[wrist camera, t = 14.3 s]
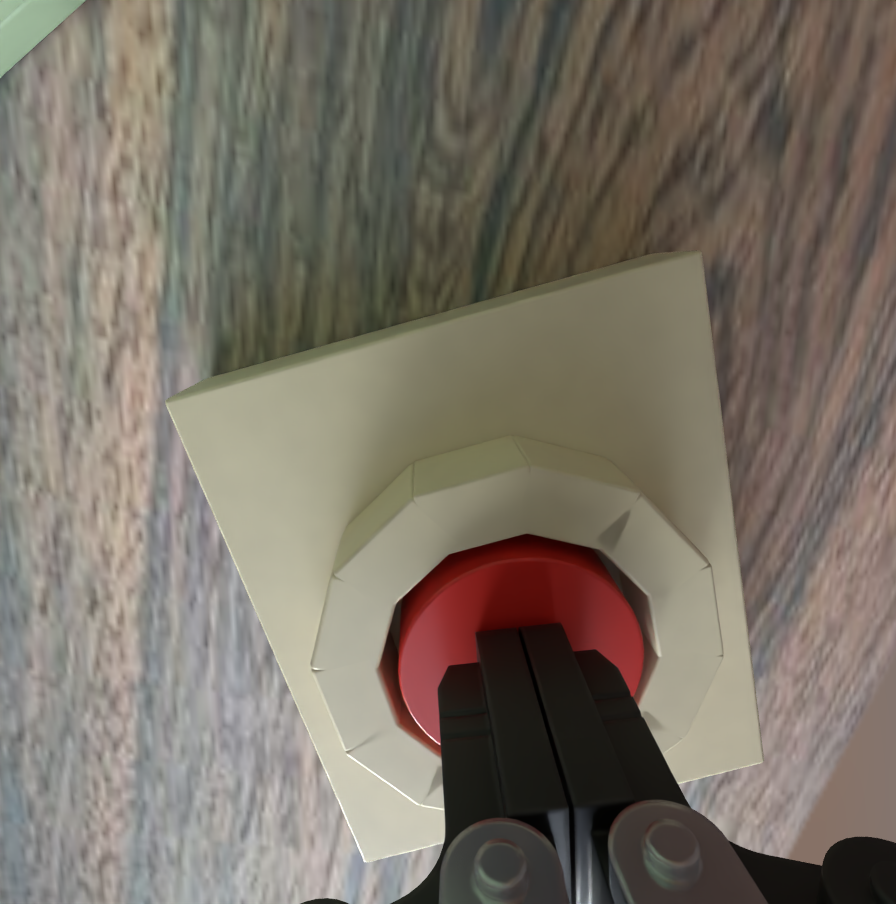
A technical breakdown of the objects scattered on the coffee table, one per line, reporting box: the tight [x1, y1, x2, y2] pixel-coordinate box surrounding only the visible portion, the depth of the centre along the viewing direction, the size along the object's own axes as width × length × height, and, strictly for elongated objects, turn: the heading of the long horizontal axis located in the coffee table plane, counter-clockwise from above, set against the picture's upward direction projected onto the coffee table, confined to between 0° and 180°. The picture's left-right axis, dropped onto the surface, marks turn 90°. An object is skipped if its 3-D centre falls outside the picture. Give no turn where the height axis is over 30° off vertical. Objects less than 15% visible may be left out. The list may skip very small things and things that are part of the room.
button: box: [398, 534, 644, 745], centre depth 11 cm, size 4×4×2 cm
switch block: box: [166, 250, 764, 862], centre depth 12 cm, size 10×12×4 cm
